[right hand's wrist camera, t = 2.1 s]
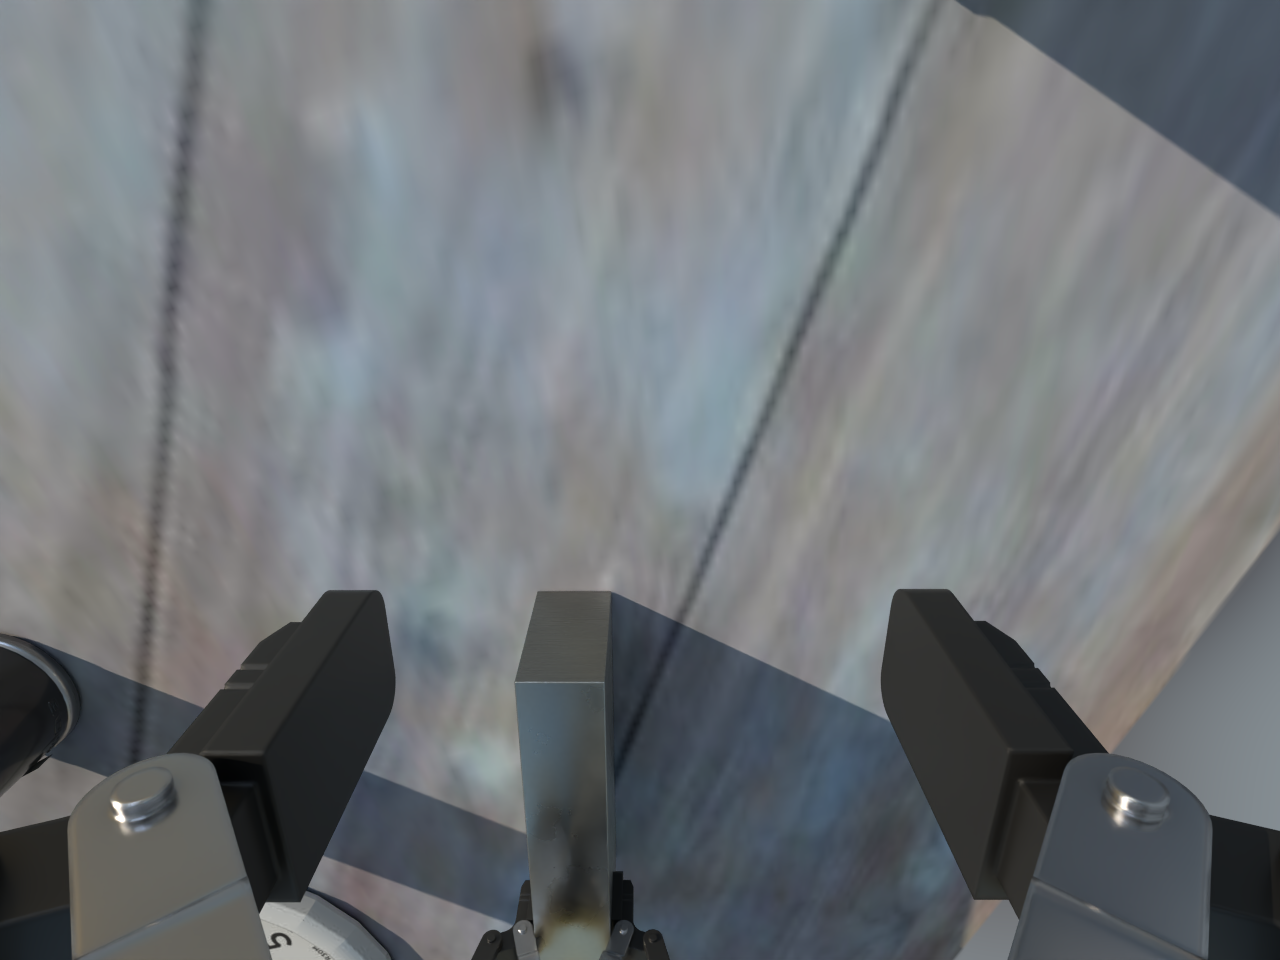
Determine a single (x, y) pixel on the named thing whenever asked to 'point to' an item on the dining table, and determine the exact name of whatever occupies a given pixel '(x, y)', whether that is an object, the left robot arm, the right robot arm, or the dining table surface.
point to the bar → (569, 771)
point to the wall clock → (316, 932)
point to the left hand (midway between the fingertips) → (579, 881)
